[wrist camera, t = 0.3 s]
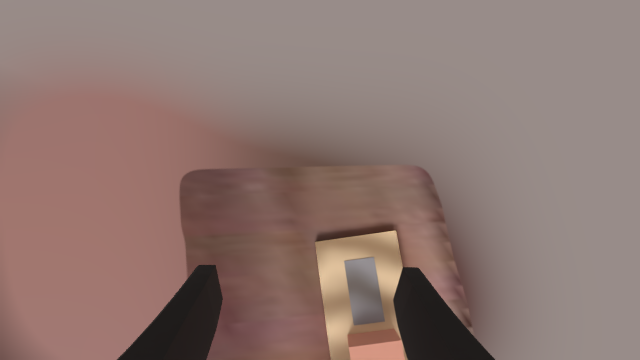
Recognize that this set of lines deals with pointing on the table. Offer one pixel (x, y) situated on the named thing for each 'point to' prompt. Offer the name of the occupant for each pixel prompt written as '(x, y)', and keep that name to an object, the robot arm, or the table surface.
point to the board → (358, 286)
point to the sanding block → (376, 345)
